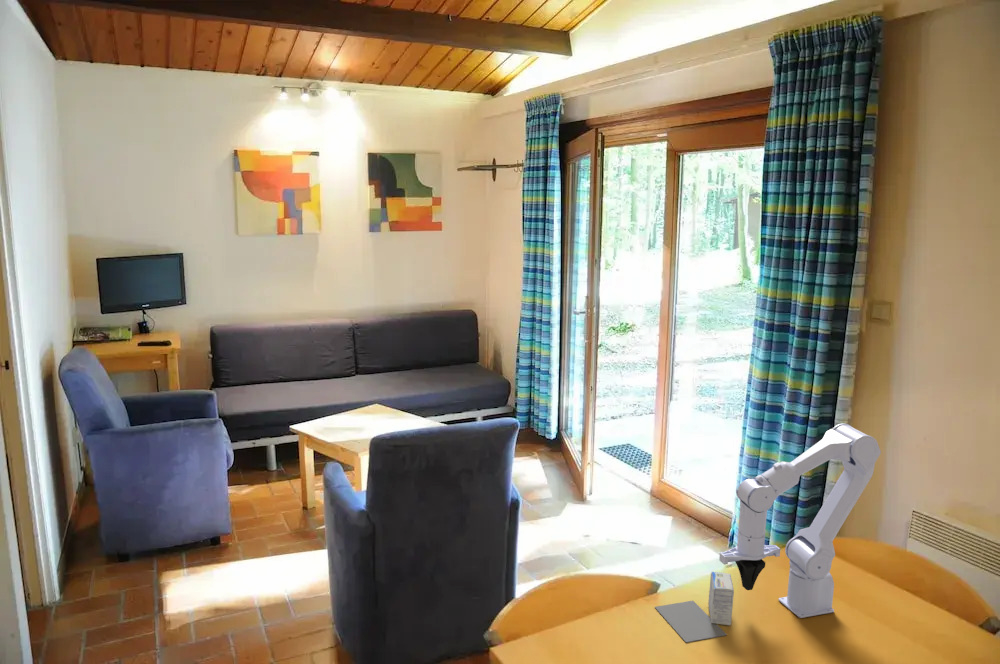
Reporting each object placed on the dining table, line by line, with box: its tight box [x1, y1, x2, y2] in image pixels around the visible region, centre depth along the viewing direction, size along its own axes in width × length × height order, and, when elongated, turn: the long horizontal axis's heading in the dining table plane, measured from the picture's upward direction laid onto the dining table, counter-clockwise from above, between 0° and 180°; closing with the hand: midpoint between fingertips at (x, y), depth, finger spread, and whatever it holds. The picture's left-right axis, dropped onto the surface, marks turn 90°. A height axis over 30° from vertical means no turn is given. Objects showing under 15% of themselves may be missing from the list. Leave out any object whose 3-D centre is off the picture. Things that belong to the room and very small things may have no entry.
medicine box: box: [707, 571, 735, 626], centre depth 166 cm, size 8×4×9 cm, turn 168°
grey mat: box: [654, 600, 728, 644], centre depth 165 cm, size 10×14×1 cm
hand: (747, 587), depth 168 cm, fingers closed
